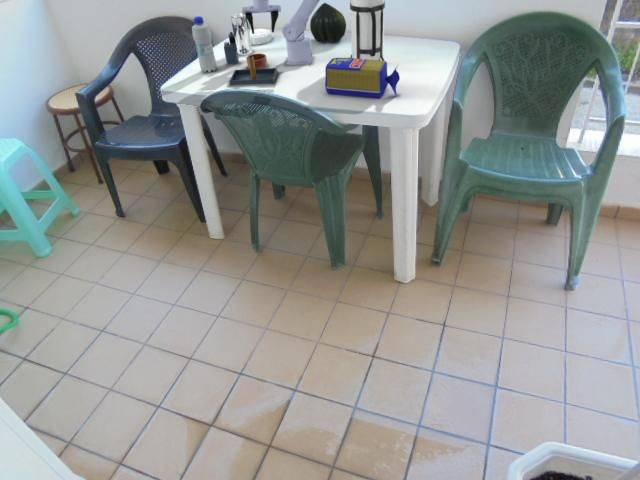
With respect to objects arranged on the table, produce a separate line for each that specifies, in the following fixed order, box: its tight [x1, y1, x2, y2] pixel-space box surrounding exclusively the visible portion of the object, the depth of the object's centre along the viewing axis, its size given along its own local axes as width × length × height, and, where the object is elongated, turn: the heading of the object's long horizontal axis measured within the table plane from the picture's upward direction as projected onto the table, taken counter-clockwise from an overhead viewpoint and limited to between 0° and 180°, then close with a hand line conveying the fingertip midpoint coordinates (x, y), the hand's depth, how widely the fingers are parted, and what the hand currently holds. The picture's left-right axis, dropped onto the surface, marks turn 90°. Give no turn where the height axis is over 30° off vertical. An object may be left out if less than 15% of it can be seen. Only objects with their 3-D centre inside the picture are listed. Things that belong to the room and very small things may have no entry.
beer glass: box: [230, 11, 253, 56], centre depth 197 cm, size 7×7×15 cm
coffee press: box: [349, 0, 386, 61], centre depth 176 cm, size 17×16×30 cm
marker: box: [248, 54, 257, 79], centre depth 177 cm, size 2×2×8 cm
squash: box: [309, 2, 347, 43], centre depth 204 cm, size 14×15×15 cm
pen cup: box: [246, 52, 269, 69], centre depth 187 cm, size 8×8×4 cm
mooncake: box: [250, 27, 272, 46], centre depth 212 cm, size 12×12×4 cm
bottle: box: [191, 15, 218, 73], centre depth 183 cm, size 7×7×20 cm
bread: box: [324, 57, 401, 99], centre depth 162 cm, size 10×25×10 cm, turn 70°
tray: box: [229, 67, 278, 86], centre depth 179 cm, size 16×10×2 cm, turn 86°
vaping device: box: [223, 31, 240, 65], centre depth 189 cm, size 3×5×12 cm, turn 78°
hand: (263, 32), depth 188 cm, fingers open, 7 cm apart
